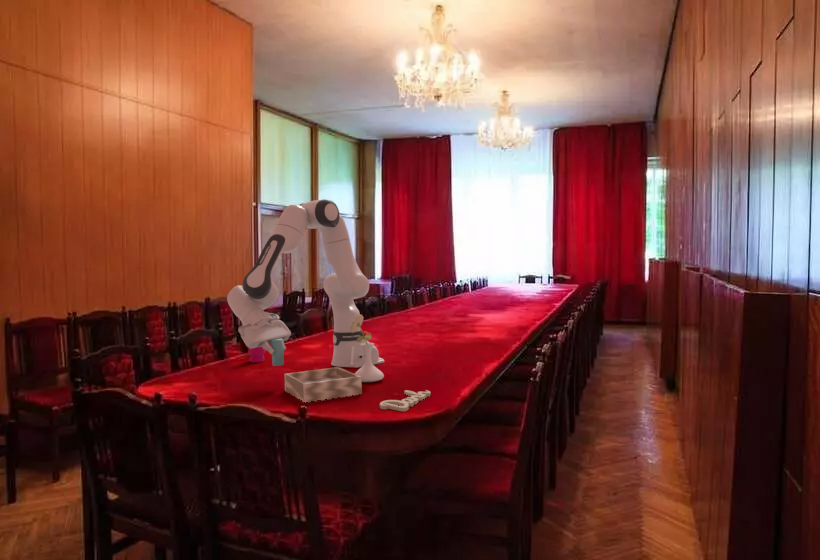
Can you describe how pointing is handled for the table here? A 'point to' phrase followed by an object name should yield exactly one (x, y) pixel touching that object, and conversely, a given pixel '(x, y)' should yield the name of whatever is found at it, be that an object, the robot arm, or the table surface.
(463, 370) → the table surface
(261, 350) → the pepper mill
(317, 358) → the table surface
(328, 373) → the bore box
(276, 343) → the peg
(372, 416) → the table surface
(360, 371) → the flower in vase
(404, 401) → the decorative sign
